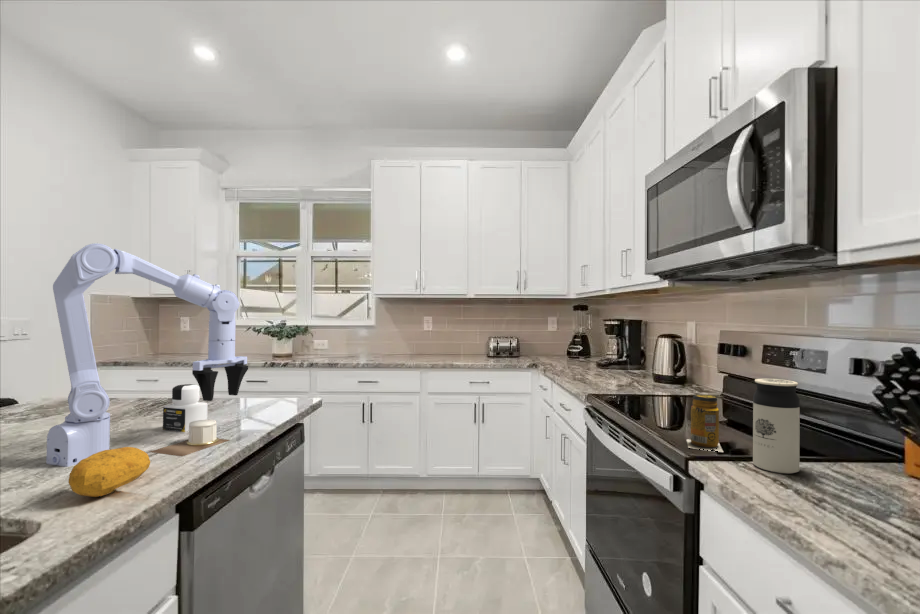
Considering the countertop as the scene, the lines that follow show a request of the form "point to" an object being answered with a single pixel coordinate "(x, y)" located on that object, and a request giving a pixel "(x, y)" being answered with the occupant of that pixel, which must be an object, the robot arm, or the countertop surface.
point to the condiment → (704, 423)
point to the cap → (202, 431)
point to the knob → (203, 443)
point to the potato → (107, 471)
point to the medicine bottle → (184, 408)
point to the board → (184, 448)
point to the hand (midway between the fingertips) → (220, 397)
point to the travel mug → (776, 426)
